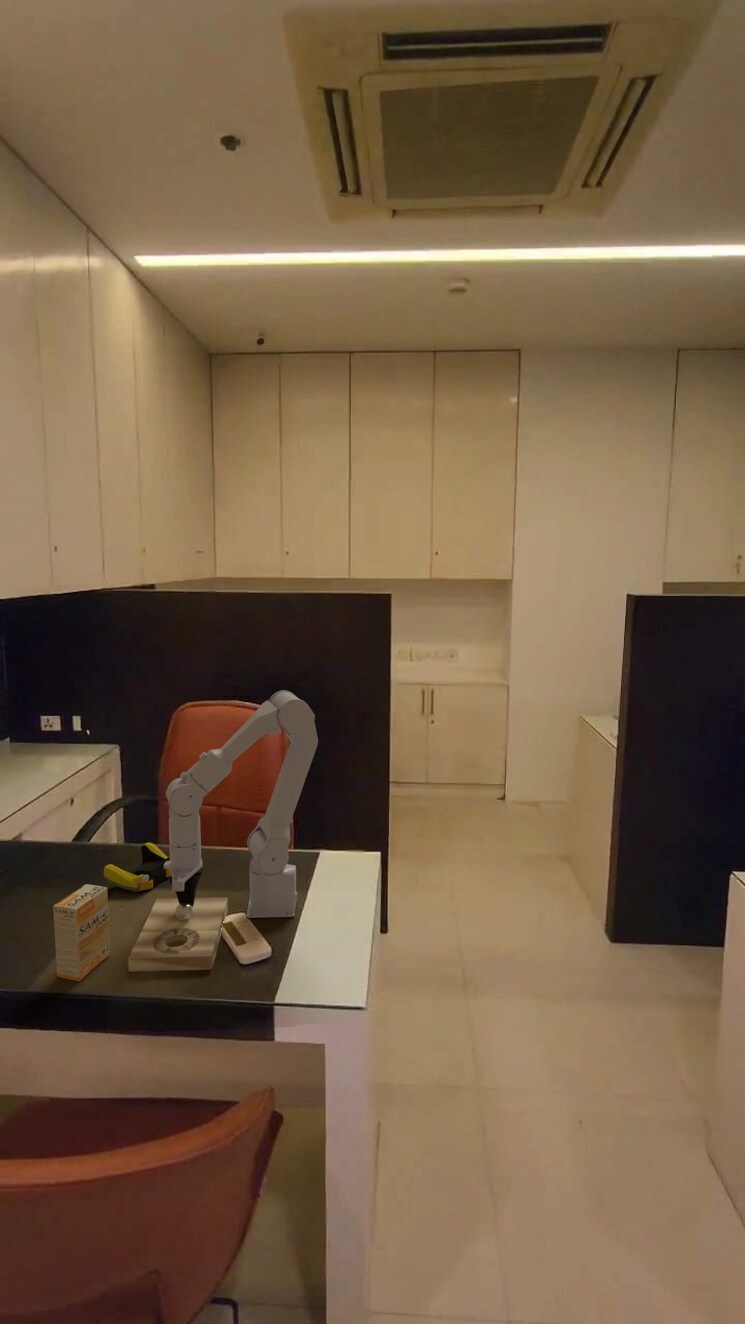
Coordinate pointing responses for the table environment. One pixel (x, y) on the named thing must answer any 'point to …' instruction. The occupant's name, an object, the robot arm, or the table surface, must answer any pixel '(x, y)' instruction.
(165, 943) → the beige flat block
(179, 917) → the ball
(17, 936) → the table surface
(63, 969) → the supplement box
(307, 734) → the robot arm
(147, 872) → the gaming controller
